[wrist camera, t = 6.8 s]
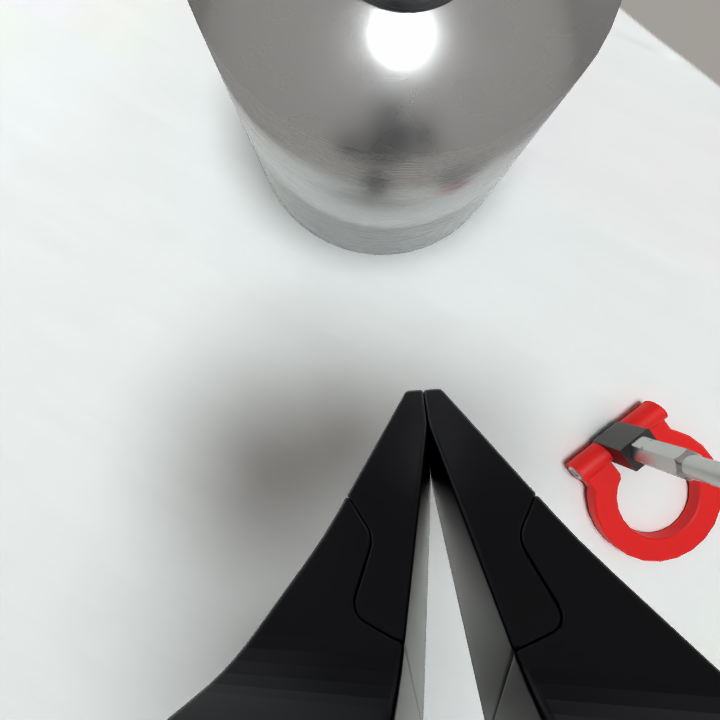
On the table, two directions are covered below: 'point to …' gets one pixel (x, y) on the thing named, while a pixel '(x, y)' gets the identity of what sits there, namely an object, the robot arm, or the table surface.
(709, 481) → the tow hook
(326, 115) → the cylinder
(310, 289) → the table surface
